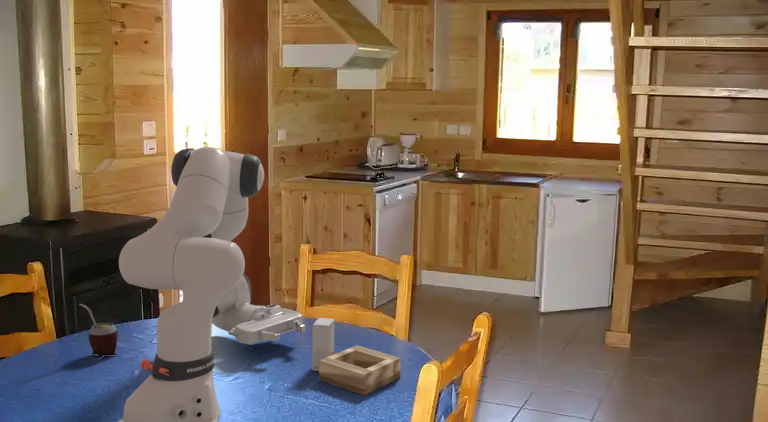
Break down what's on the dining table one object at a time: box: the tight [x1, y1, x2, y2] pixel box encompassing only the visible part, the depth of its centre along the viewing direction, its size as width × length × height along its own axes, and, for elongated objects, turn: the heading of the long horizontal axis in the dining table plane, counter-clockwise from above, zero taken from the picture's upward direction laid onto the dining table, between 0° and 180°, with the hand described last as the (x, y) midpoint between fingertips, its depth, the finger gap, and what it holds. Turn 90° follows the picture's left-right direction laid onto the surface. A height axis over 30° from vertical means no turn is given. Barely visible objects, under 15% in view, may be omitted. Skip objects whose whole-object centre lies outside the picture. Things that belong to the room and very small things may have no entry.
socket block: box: [318, 345, 402, 396], centre depth 184 cm, size 14×14×5 cm
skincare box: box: [311, 317, 335, 372], centre depth 190 cm, size 6×4×12 cm
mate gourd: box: [78, 303, 119, 359], centre depth 196 cm, size 8×8×15 cm
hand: (290, 333), depth 197 cm, fingers open, 8 cm apart
